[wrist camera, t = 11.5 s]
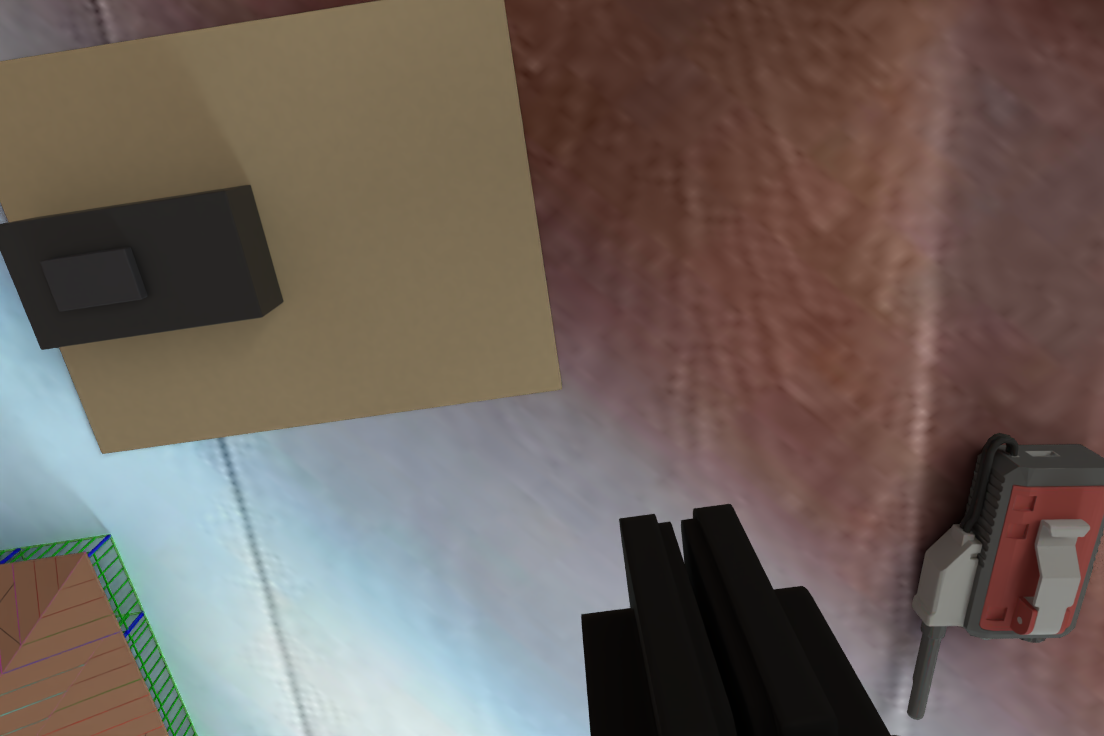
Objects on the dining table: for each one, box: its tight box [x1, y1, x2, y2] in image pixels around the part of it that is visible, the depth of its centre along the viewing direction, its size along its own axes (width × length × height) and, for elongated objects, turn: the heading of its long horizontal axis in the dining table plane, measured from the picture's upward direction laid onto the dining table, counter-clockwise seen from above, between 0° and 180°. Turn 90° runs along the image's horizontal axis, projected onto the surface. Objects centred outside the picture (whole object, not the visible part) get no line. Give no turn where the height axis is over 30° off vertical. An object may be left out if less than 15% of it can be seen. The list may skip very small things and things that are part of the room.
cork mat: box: [0, 0, 562, 454], centre depth 35 cm, size 20×26×1 cm
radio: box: [0, 185, 284, 350], centre depth 34 cm, size 6×4×11 cm
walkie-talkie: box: [907, 433, 1104, 720], centre depth 41 cm, size 9×4×20 cm
